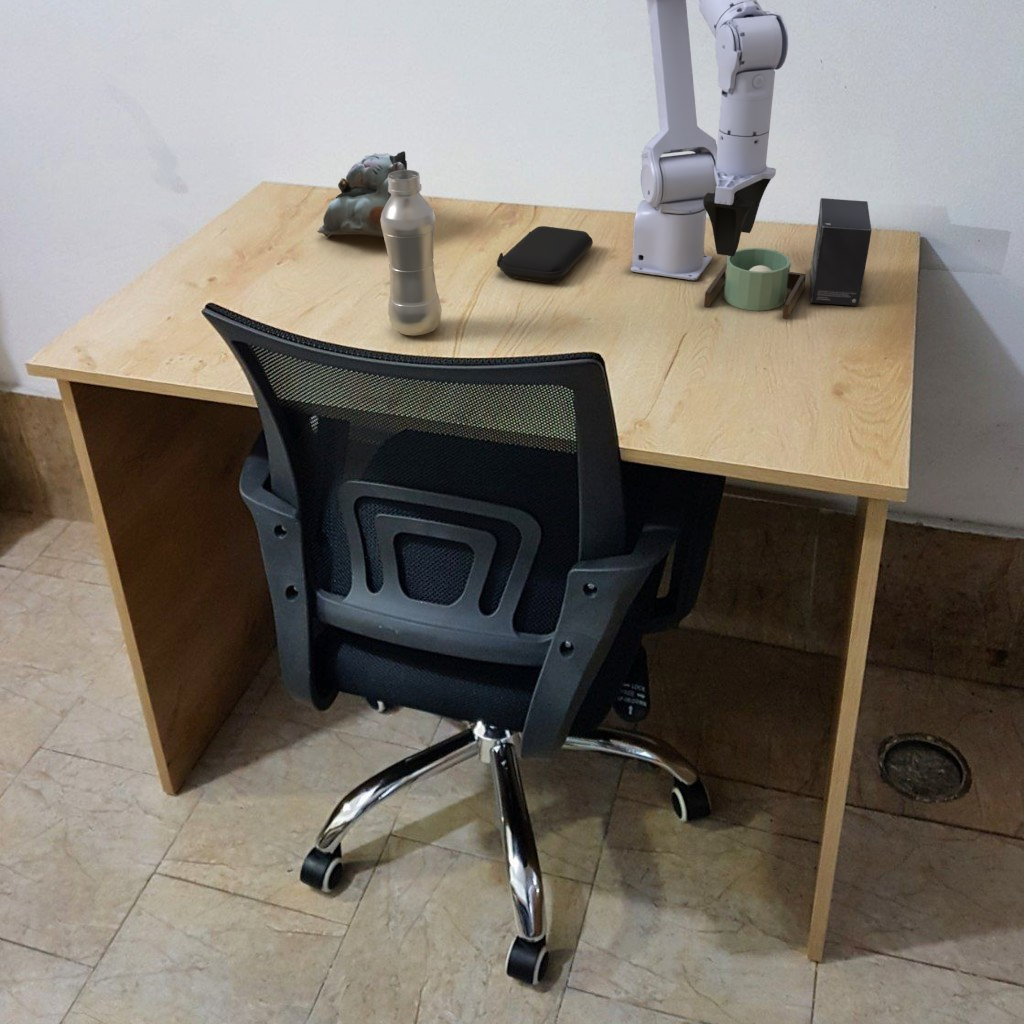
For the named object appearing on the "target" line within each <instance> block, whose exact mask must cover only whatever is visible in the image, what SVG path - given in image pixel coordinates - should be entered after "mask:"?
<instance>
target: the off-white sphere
mask: <svg viewBox="0 0 1024 1024" xmlns="http://www.w3.org/2000/svg"><path fill="white" fill-rule="evenodd" d="M749 271H756V272H766V271H772V270H771V269H770V268H768V267H767V266H763V265H758V266H755V267H753V268H751V269H750V270H749Z"/></svg>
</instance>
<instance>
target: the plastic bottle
mask: <svg viewBox="0 0 1024 1024" xmlns="http://www.w3.org/2000/svg"><path fill="white" fill-rule="evenodd" d="M388 184H389V186H388V191H389V193H391V197H390V198H389V200H388V201H387V203H386V205H385V207H384V209H383V211H382V214H381V219H380V221H381V227H382V231H383V235H384V237H383V238H384V244H385V248H386V253H387V261H388V263H389V264H388V266H389V267H388V268H389V297H388V298H389V299H388V309H387V311H388V312H387V314H388V318H389V321H390V325H391V326H392V327H393V329H394V330H395V331H396V332H397V333H399V334H401V335H406V336H421V335H426V334H429V333H431V332H434V331H435V330H436V329H437V328H438V326H439V325H440V323H441V319H442V311H443V309H442V304H441V300H440V296H439V293H438V289H437V288H438V287H437V281H436V274H435V268H434V267H435V264H434V262H435V261H434V259H435V257H434V243H435V231H436V214H435V212H434V209H433V207H432V206H431V204H429V202H428V201H427V199H425V197H424V196H423V195H422V194H421V193H420V192H421V191H422V188H423V187H422V184H421V175H420V172H419V171H416V170H413V169H407V170H399V171H394V172H391V173H390V174H388Z"/></svg>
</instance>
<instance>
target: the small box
mask: <svg viewBox="0 0 1024 1024" xmlns="http://www.w3.org/2000/svg"><path fill="white" fill-rule="evenodd" d="M816 225H817V226H816V231H815V239H814V245H813V251H812V257H811V263H810V269H809V301H810V303H811V304H826V305H839V306H840V305H841V306H856V307H858V306H859V305H860V304H859V303H860V298H861V293H862V290H863V284H864V278H865V271H866V266H867V262H868V261H867V260H868V255H869V248H870V244H871V236H872V229H873V228H872V224H871V217H870V210H869V202H868V201H867V200H854V199H852V200H851V199H840V198H839V199H838V198H827V197H821V198H820V200H819V209H818V219H817V224H816Z"/></svg>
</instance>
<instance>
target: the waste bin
mask: <svg viewBox="0 0 1024 1024" xmlns="http://www.w3.org/2000/svg"><path fill="white" fill-rule="evenodd" d="M791 263H792V262H791V259H790V257H788V255H786V254H785V253H783V252H780V251H778V250H775V249H770V248H763V247H762V248H761V247H751V248H750V247H749V248H741V249H737V251H736V253H735V255H734V256H726V261H725V264H726V271H725V283H724V285H723V298H724V300H725V302H726V303H728V304H729V305H731V306H733V307H735V308H737V309H741V310H747V311H757V312H758V311H759V312H760V311H769V310H775V309H777V308H779V307H781V306H784V304H785V302H786V300H787V297H788V289H789V287H788V281H789V273H790V272H791ZM758 265H763V266H767V267H768V268H770V269H771V270H772V271H766V272H756V271H749V270H750V269H751V268H753V267H755V266H758Z"/></svg>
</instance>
